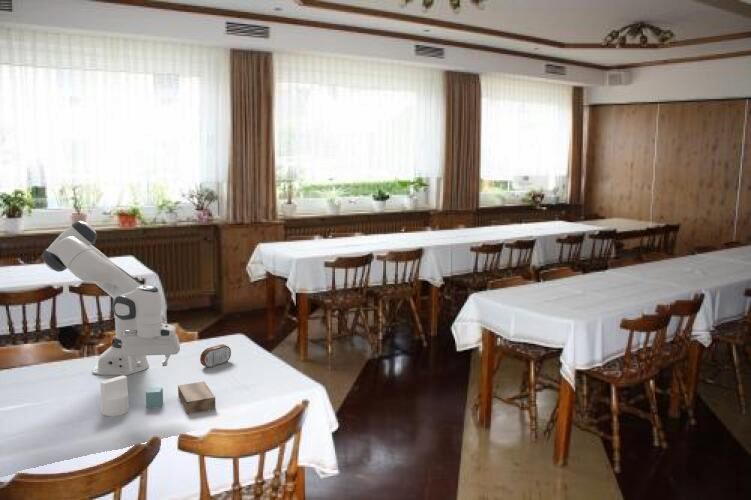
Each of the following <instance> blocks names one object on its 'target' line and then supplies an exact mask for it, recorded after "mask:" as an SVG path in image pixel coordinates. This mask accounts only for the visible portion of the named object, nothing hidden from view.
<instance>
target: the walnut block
mask: <svg viewBox="0 0 751 500" xmlns="http://www.w3.org/2000/svg"><path fill="white" fill-rule="evenodd" d="M177 391H178V392H177V394H178V396H177V397H178V399H179V401H180V402H181V405H182V404H183V405H182V406H184V407H183V408H184V410H185V413H186V414H187V415H191V414H196V413H197V414H198V413H203V412H208V410H209V411H213V410H216V396H215V394H214V393H213V391H211V389H210V388H209V386H208V385H207V383H206V382H205V380H204V381H198V382H192V383H185V384H179V385H177Z"/></svg>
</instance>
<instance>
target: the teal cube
mask: <svg viewBox="0 0 751 500" xmlns="http://www.w3.org/2000/svg"><path fill="white" fill-rule="evenodd" d="M163 390H164V389H163V386H154V387H152V386H151V387H148V388H147V389H146V391H145V403H146V404H145V405H146V409H151V408H152V409H153V408H154V407H157V408H162V406H161V405H163V403H164V392H163ZM154 409H155V408H154Z"/></svg>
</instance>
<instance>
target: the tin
mask: <svg viewBox="0 0 751 500" xmlns="http://www.w3.org/2000/svg"><path fill="white" fill-rule="evenodd" d="M231 355H232V349H231V347H230V346H229V345H227V344H218V345H215V346H210V347H208V348H207V347H206V348H205V349H204V350H203V351H202V352H201V354H200V357H199V358H200V359H199V361H200V364H201V365H202V366H203V367H206V368H213V367H216V366H219V365H223V364H226V363H227V362H228V361H229V360H230V359H231V357H232V356H231Z"/></svg>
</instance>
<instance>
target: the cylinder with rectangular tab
mask: <svg viewBox="0 0 751 500" xmlns="http://www.w3.org/2000/svg"><path fill="white" fill-rule="evenodd" d="M99 385H100V403H101V413H102V415H103V416H105V417H116V416H117V417H118V416H121V415H124V414H126V413H128V411H129V410H130V407H129V405H130V404H129V393H128V392H129V391H128V378H127V375H117V376H116V377H111V378H107V379H105V380H101V381H99Z"/></svg>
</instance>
